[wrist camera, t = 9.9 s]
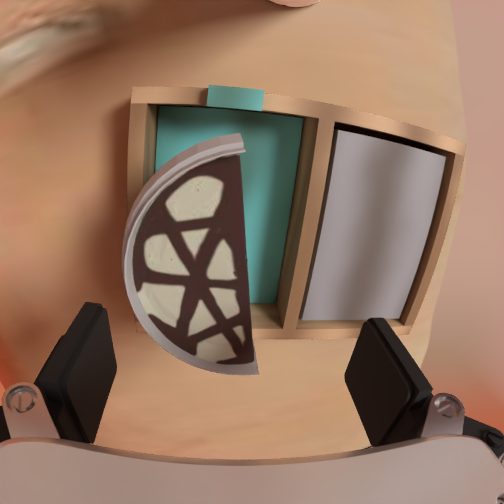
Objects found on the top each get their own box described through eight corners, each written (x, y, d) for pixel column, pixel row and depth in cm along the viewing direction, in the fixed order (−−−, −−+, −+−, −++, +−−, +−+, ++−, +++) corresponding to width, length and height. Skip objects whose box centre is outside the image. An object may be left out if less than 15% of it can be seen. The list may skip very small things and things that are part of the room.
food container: (140, 137, 19) (84, 157, 10) (230, 126, 20) (244, 135, 11) (166, 294, 25) (148, 388, 16) (242, 287, 25) (259, 380, 16)
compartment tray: (440, 136, 21) (473, 144, 17) (392, 312, 28) (412, 339, 24) (145, 89, 18) (128, 84, 14) (144, 306, 25) (134, 338, 21)
